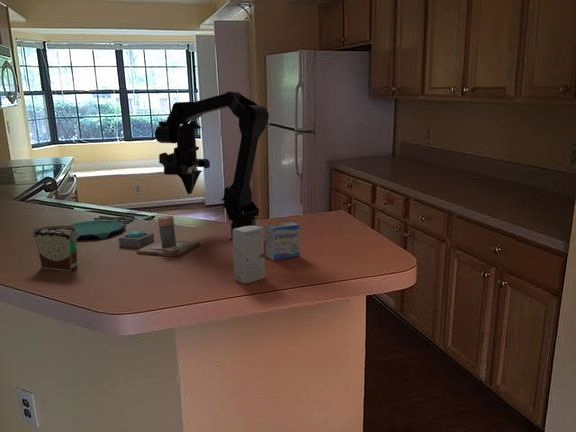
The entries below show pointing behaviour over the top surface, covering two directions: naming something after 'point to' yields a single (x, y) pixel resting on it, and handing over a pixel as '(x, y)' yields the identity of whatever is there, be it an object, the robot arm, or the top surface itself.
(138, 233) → the button
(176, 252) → the drawing board
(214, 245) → the top surface
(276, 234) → the medicine box
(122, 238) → the button housing
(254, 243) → the skincare box
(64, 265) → the food container
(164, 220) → the pink and grey capsule
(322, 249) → the top surface
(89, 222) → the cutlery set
